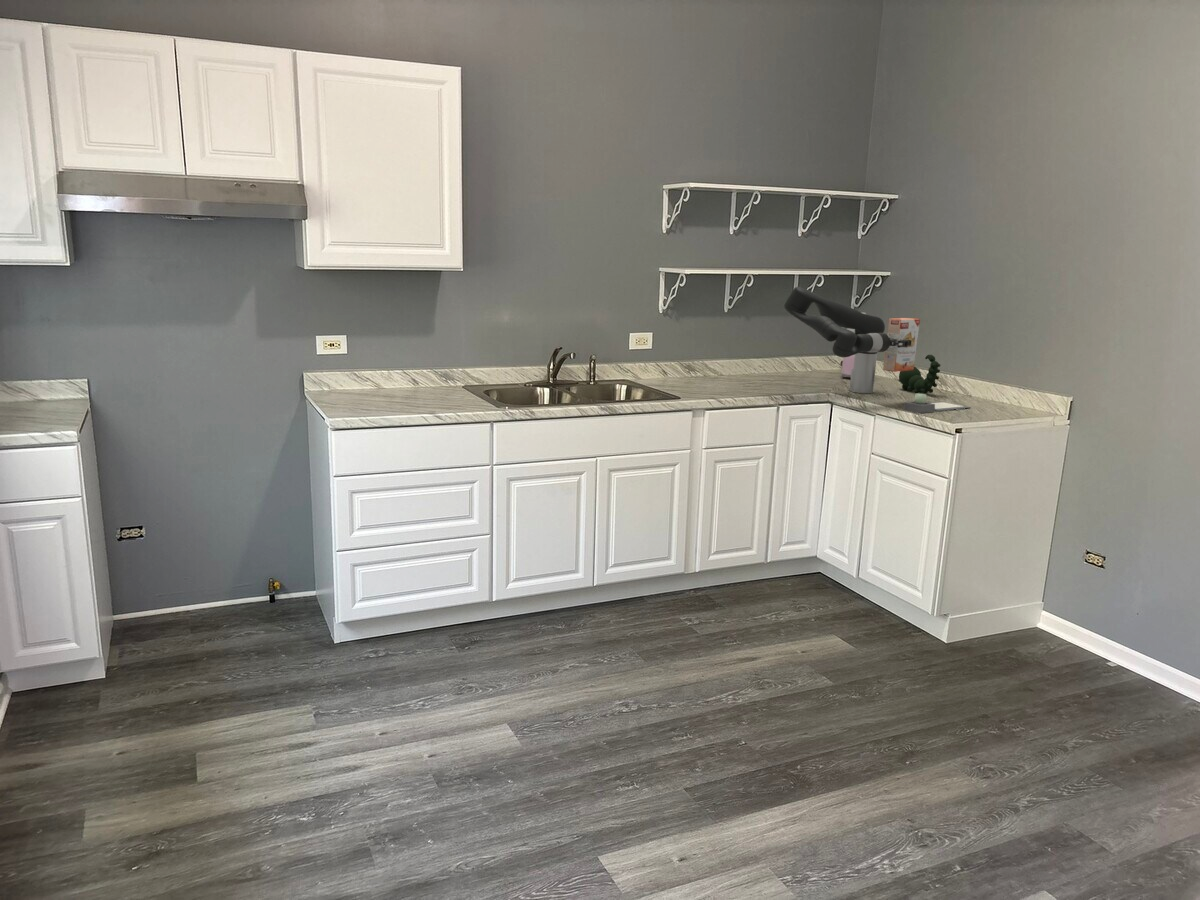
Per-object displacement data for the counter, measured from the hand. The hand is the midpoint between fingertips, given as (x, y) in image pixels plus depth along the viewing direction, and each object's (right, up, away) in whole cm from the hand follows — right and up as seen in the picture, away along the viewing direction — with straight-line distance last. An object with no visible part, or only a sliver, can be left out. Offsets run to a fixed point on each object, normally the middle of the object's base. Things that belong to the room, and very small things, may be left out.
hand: (903, 341), depth 347 cm
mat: (+14, -26, 0) cm, 30 cm away
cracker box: (-1, -11, +2) cm, 12 cm away
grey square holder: (+2, -28, -11) cm, 30 cm away
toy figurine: (+19, -18, +39) cm, 47 cm away
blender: (+1, -8, +77) cm, 78 cm away
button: (+2, -26, -11) cm, 28 cm away
